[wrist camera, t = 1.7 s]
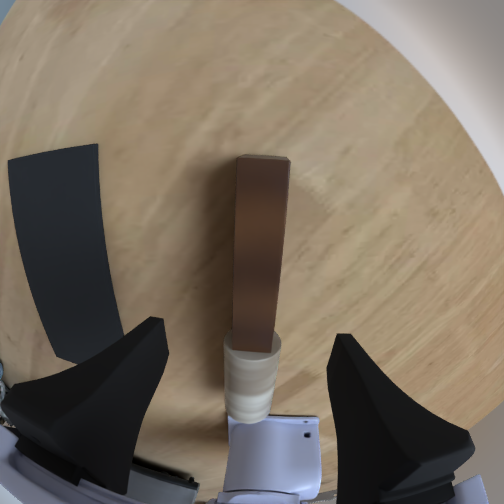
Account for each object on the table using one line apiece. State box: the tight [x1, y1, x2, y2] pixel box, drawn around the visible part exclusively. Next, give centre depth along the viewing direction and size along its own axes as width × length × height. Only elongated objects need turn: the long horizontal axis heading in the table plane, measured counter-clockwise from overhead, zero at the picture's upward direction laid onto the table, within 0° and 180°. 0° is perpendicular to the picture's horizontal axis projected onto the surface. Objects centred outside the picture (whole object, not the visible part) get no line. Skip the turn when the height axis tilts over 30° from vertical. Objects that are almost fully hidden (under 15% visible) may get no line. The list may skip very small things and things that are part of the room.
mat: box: [8, 144, 124, 364], centre depth 20 cm, size 11×22×1 cm, turn 177°
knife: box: [300, 489, 337, 504], centre depth 33 cm, size 19×2×5 cm, turn 134°
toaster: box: [123, 463, 200, 504], centre depth 30 cm, size 29×32×19 cm
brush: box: [224, 154, 291, 424], centre depth 18 cm, size 20×4×4 cm, turn 177°
